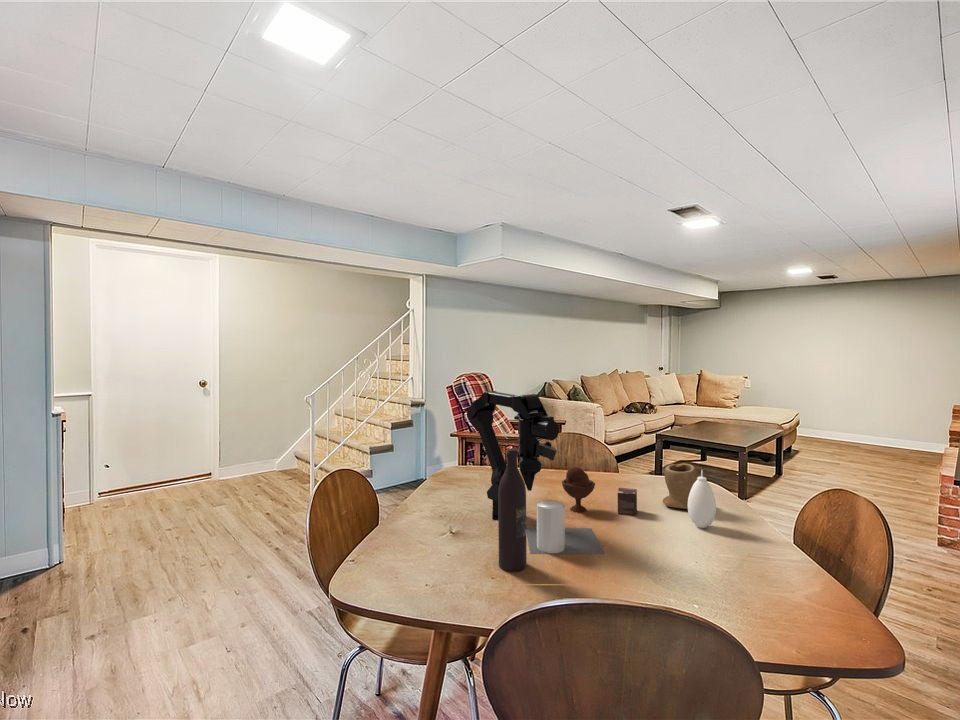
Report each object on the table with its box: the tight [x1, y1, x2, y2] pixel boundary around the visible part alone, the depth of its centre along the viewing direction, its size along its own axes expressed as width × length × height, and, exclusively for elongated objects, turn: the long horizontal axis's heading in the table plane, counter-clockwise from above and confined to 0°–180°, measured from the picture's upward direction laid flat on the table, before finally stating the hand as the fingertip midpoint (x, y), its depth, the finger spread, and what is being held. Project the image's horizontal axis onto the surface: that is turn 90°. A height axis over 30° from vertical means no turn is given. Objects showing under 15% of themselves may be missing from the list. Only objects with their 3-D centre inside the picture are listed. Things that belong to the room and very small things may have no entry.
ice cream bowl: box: [561, 466, 596, 514], centre depth 163 cm, size 11×11×15 cm
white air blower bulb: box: [687, 469, 717, 529], centre depth 147 cm, size 8×8×18 cm
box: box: [617, 487, 638, 516], centre depth 161 cm, size 6×6×7 cm
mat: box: [526, 527, 606, 555], centre depth 138 cm, size 20×18×1 cm
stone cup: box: [662, 462, 699, 510], centre depth 164 cm, size 15×12×15 cm
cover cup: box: [536, 499, 566, 553], centre depth 133 cm, size 7×7×12 cm
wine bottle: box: [497, 448, 527, 573], centre depth 122 cm, size 7×7×30 cm
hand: (528, 486), depth 148 cm, fingers open, 9 cm apart
